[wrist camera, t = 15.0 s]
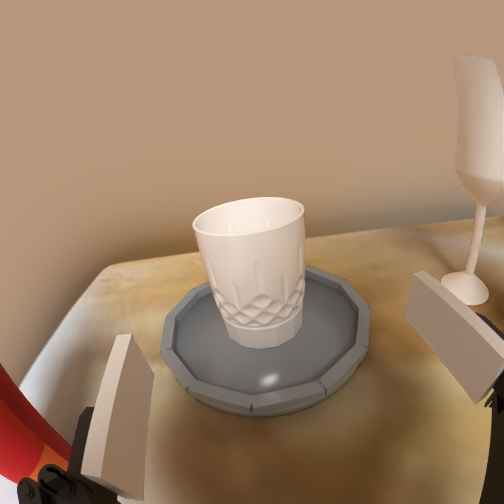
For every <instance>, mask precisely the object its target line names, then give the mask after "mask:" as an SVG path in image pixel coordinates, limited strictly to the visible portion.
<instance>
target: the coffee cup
mask: <svg viewBox="0 0 504 504" xmlns="http://www.w3.org/2000/svg"><path fill="white" fill-rule="evenodd" d="M71 449H72V447H71V446H70V445H69V444H68V443H67V442H66V441H65V440H64V439H63V438H62V437H61V436H60V435H59V434H58V433H57V432H56V431H55V430H54V429H53V428H52V427H51V426H50V425H49V424H48V423H47V422H46V420H45V419H44V418H43V417H42V416H41V415H40V414H39V413H38V412H37V410H36V409H35V408H34V407H33V406H32V405H31V403H30V402H29V401H28V400H27V399H26V397H25V396H24V395H23V394H22V392H21V391H20V390H19V389H18V387H17V386H16V385H15V383H14V382H13V381H12V379H11V378H10V376H9V375H8V374H7V372H6V371H5V369H4V368H3V367H2V365H1V363H0V474H1V475H2V476H4V477H6V478H7V479H9V480H11V481H12V482H14V483H16V484H18V482H19V481H20V480H21V479H22V478H24V477H30V478H31V479H33V480H35V481H36V482H38V481H37V478H38V473H39V471H40V469H41V468H42V467H43V466H44V465H47V464H56V465H57V466H59V467H60V468H62V469H63V470H65V471H66V472H67V469H68V464H69V459H70V454H71Z"/></svg>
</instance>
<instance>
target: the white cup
mask: <svg viewBox="0 0 504 504" xmlns="http://www.w3.org/2000/svg"><path fill="white" fill-rule="evenodd" d="M192 226H193V230H194V233H195V237H196V240H197V243H198V247H199V250H200V254H201V257H202V261H203V264H204V267H205V270H206V274H207V277H208V280H209V283H210V287H211V290H212V293H213V296H214V298H215V301H216V304H217V307H218V309H219V311H220V312H221V315H222V317H223V320H224V323H225V326H226V329H227V332H228V334H229V337H230V338H231V339H232V340H234V341H235V342H237V343H238V344H240V345H241V346H244V347H249V348H255V349H265V348H271V347H277V346H280V345H282V344H283V343H285V342H287V341H289V340H290V339H292V338H294V337H295V335H296V334H297V332H298V331H299V330H300V328H301V327H302V310H303V298H304V295H305V291H304V289H305V209H304V207H303V205H302V204H301V203H299V202H297V201H295V200H291V199H287V198H279V197H259V198H250V199H243V200H237V201H233V202H229V203H225V204H222V205H219V206H216V207H213V208H211V209H209V210H207V211H205V212H203V213H201V214H200V215H199V216H197V217H196V219H195V220H194V221H193V225H192Z"/></svg>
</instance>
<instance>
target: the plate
mask: <svg viewBox="0 0 504 504" xmlns="http://www.w3.org/2000/svg"><path fill="white" fill-rule="evenodd" d="M304 291H305V295H304V298H303V310H302V327H301V328H300V330H299V331H298V332H297V334H296V335H295V337H294V338H292V339H290V340H289V341H287V342H285V343H283V344H282V345H280V346H277V347H271V348H265V349H255V348H249V347H244V346H241V345H240V344H238V343H237V342H235V341H234V340H232V339H231V338H230V337H229V334H228V332H227V329H226V326H225V323H224V320H223V317H222V315H221V312H220V311H219V309H218V307H217V304H216V301H215V298H214V296H213V293H212V290H211V287H210V283H209V281H208V282H206V283H203V284H201V285H199V286H197V287H195V288H193V290H190V291H189V292H188V293H187V295H186V296H185V297H184V298H183V299H182V300H181V301H180V302H179V303H178V304H177V305H176V306H175V307H174V308H173V309H172V310H171V311H170V313H169V314H168V315H167V317H166V318H165V323H164V329H163V335H162V341H161V347H160V352H161V355H162V357H163V359H164V361H165V362H166V364H167V365H168V367H169V368H170V369H171V371H172V372H173V374H174V376H175V377H176V379H177V381H178V382H179V384H180V385H181V386H182V387H183V388H184V389H185V391H186V392H187V393H188V394H190V395H191V396H192V397H194V398H195V399H196V400H198V401H199V402H201V403H203V404H205V405H206V406H208V407H210V408H213V409H216V410H218V411H221V412H224V413H228V414H232V415H237V416H245V417H274V416H280V415H286V414H291V413H294V412H297V411H301V410H304V409H307V408H309V407H311V406H313V405H315V404H318V403H320V402H322V401H323V400H325V399H327V398H328V397H330V396H331V395H333V394H334V393H336V392H337V391H338V390H339V389H340V388H341V387H343V386H344V385H345V384H346V383H347V382H348V381H349V379H350V378H351V377H352V376H353V375H354V373H355V372H356V370H357V369H358V367H359V365H360V363H361V361H362V360H363V359H364V357H365V356H366V354H367V351H368V345H369V330H370V306H369V305H368V304H367V303H366V302H365V300H364V299H363V298H362V297H361V296H360V294H359V293H358V292H357V291H356V290H355V288H354V287H353V286H352V285H351V284H350V283H349V281H346V279H343V278H341V277H338V276H336V275H333V274H331V273H328V272H325V271H323V270H320V269H318V268H315V267H313V266H312V267H310V266H305V289H304Z"/></svg>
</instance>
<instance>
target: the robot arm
mask: <svg viewBox="0 0 504 504" xmlns="http://www.w3.org/2000/svg"><path fill="white" fill-rule="evenodd" d="M404 318H405V319H406V320H407V321H408V322H409V323H410V325H411V326H412V327H413V328H414V329H415V330H416V331H417V332H418V334H419V335H420V336H421V337H422V338H423V339H424V341H425V342H426V343H427V344H428V345H429V346H430V348H431V349H432V350H433V351H434V352H435V354H436V355H437V356H438V357H439V358H440V360H441V361H442V362H443V363H444V365H445V366H446V367H447V368H448V370H449V371H450V372H451V373H452V375H453V376H454V377H455V378H456V380H457V381H458V382H459V384H460V385H461V386H462V387H463V389H464V390H465V391H466V393H467V394H468V395H469V397H470V398H471V399H472V401H473V402H474V404H475V405H476V404H477V403H478V402H480V401H481V400H482V399H483V398H485V397H486V396H487V394H488V393H489V392H490V390H491V389H492V388H493V389H494V392H493V393H492V394H491V396H490V397H489V398H488V400H487V401H486V403H485V406H484V407H487V406H488V404H489V403H490V402H491V401H492V402H491V404H490V405H489V407H492V423H491V438H490V448H489V456H488V463H487V469H486V475H485V480H484V485H483V490H482V494H481V498H480V502H479V504H504V334H503V333H502V332H501V331H500V330H498V328H497V327H496V326H495V325H493V323H492V322H490V321H489V320H488V319H487V318H486V317H485V316H483V315H481V314H479V313H477V312H476V313H474V312H473V311H472V310H471V309H470V308H469V307H468V306H467V305H465V304H464V303H463V302H462V301H461V300H460V299H459V298H457V297H456V296H455V295H454V294H453V293H452V292H450V291H449V290H448V289H447V288H446V287H444V286H443V285H442V284H441V283H440V282H438V281H437V280H436V279H435V278H433V277H432V276H431V275H430V274H429V273H427V272H426V271H425V270H423V271H420V272H417V273H414V274H413V279H412V284H411V289H410V294H409V299H408V304H407V308H406V312H405V317H404ZM153 379H154V373H153V372H152V370H151V368H150V367H149V365H148V363H147V361H146V359H145V358H144V356H143V354H142V352H141V350H140V348H139V347H138V345H137V343H136V341H135V339H134V337H133V335H132V334H124V335H117V336H116V339H115V342H114V345H113V348H112V351H111V354H110V357H109V360H108V363H107V366H106V369H105V372H104V376H103V379H102V382H101V386H100V389H99V393H98V396H97V400H96V404H95V407H86V408H85V410H84V411H83V412H82V414H81V415H80V417H79V421H78V425H77V430H76V432H75V436H74V437H75V439H74V441H73V445H72V449H71V454H70V459H69V464H68V469H67V472H66V471H65V470H63V469H62V468H60V467H59V466H57V465H56V464H47V465H44V466H43V467H42V468H41V469H40V471H39V473H38V478H37V481H38V482H36V481H35V480H33V479H31V478H30V477H24V478H22V479H21V480H20V481H19V482H18V486H17V494H18V500H19V504H121V503H120V502H119V501H118V500H117V495H119V496H121V497H123V498H125V499H133V500H141V501H144V473H145V455H146V442H147V431H148V420H149V411H150V402H151V394H152V387H153Z"/></svg>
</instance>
